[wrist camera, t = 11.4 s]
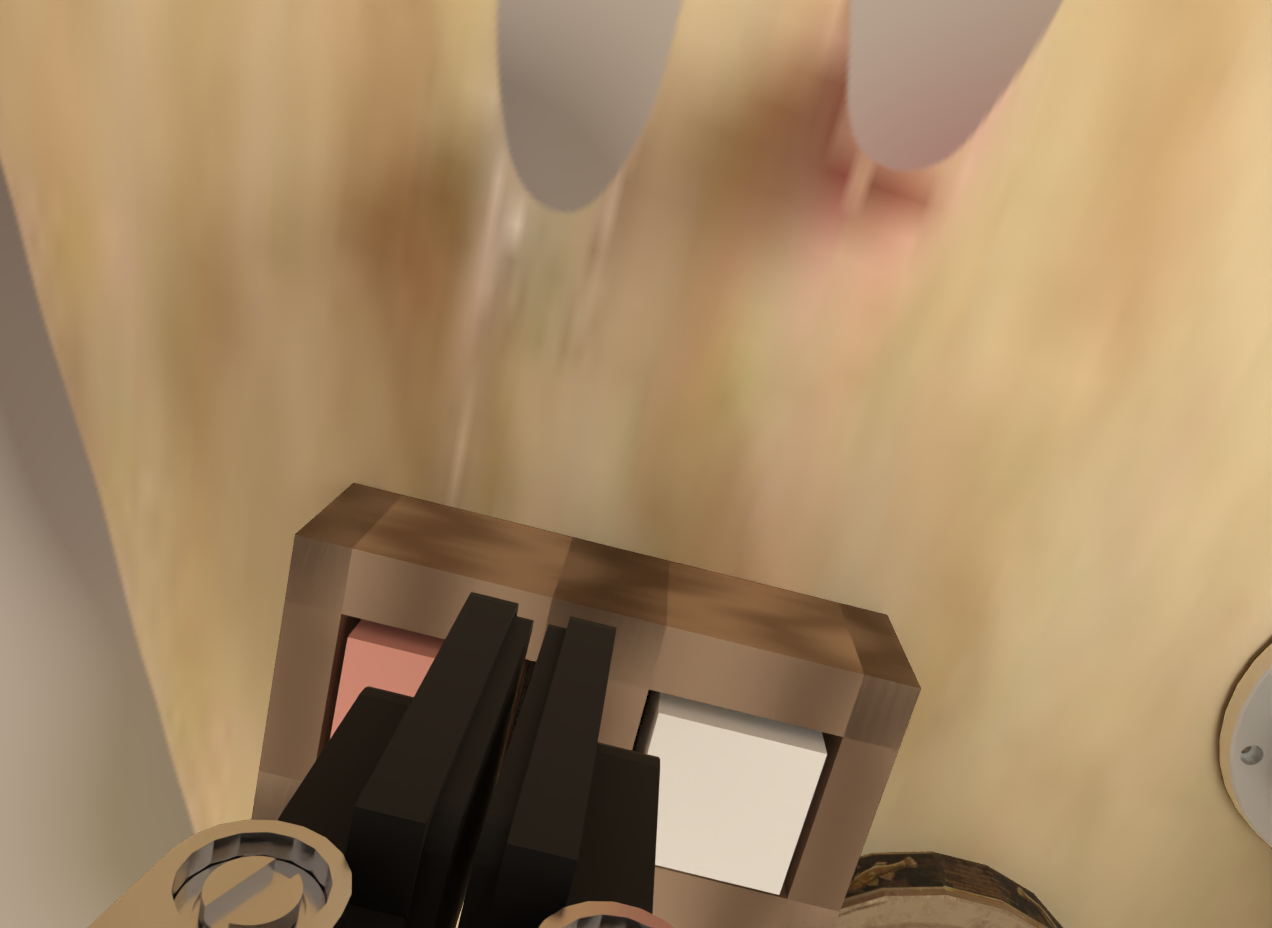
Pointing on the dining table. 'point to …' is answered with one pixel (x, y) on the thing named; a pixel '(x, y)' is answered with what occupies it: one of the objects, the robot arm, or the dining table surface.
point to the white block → (729, 789)
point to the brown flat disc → (936, 895)
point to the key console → (641, 661)
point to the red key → (391, 666)
